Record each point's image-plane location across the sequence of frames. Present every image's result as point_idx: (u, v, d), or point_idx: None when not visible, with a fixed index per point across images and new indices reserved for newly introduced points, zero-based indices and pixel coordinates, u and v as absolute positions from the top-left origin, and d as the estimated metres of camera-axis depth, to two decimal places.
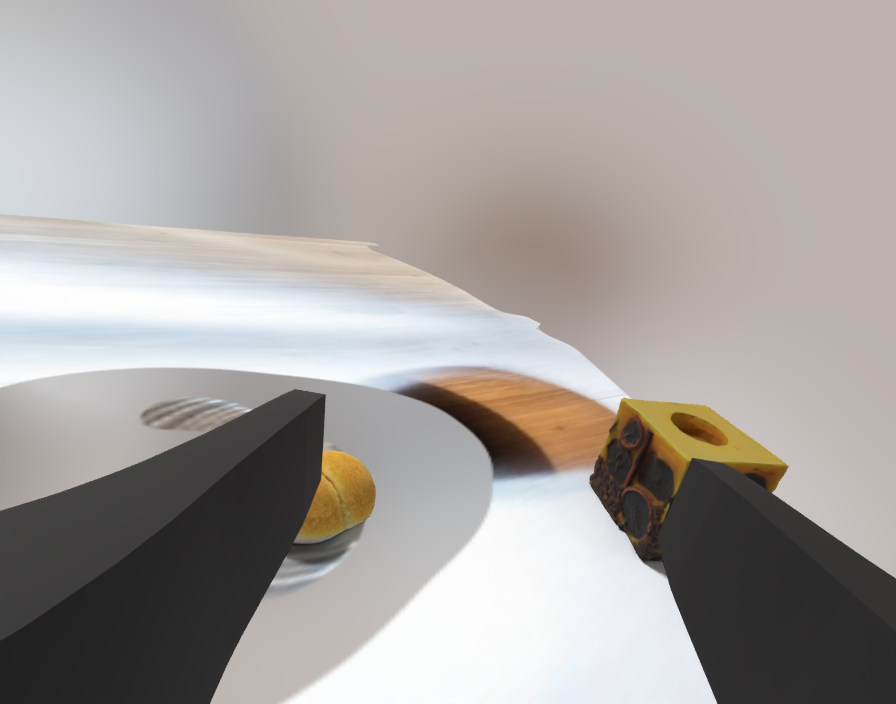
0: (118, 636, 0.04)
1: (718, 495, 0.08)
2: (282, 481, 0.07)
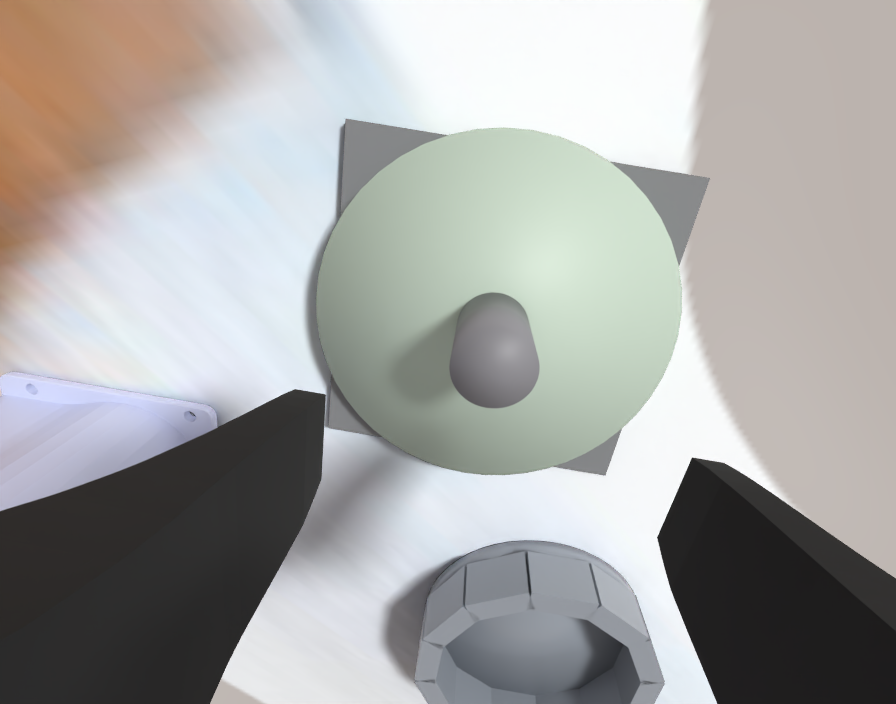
0: (118, 637, 0.04)
1: (718, 495, 0.08)
2: (282, 481, 0.07)
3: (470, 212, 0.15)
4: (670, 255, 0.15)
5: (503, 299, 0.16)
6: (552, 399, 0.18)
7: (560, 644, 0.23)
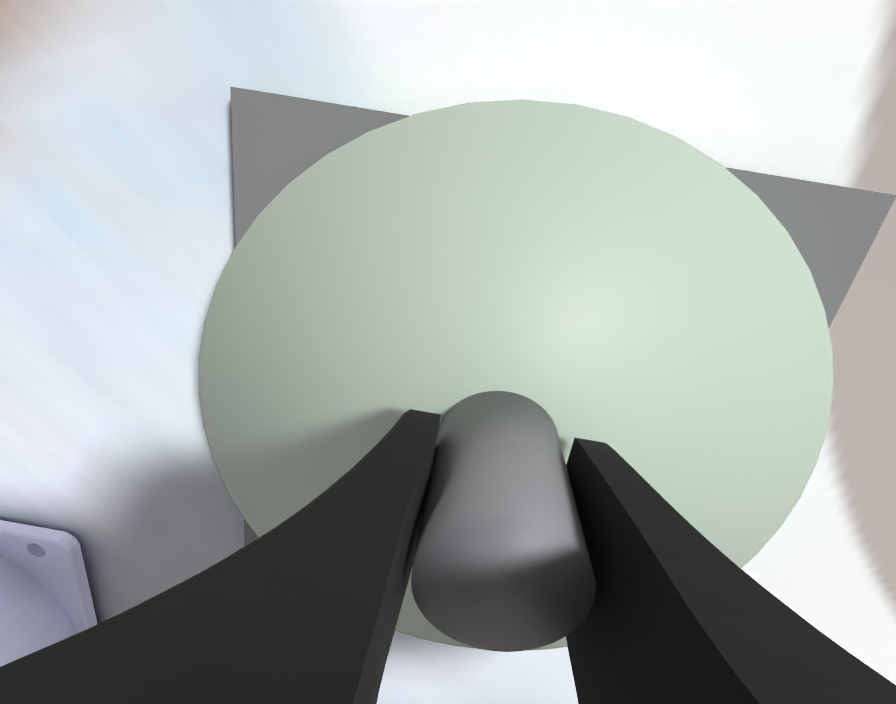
0: (369, 682, 0.04)
1: (586, 472, 0.08)
2: (420, 505, 0.07)
3: (457, 257, 0.08)
4: (819, 335, 0.08)
5: (517, 410, 0.09)
6: None
7: None
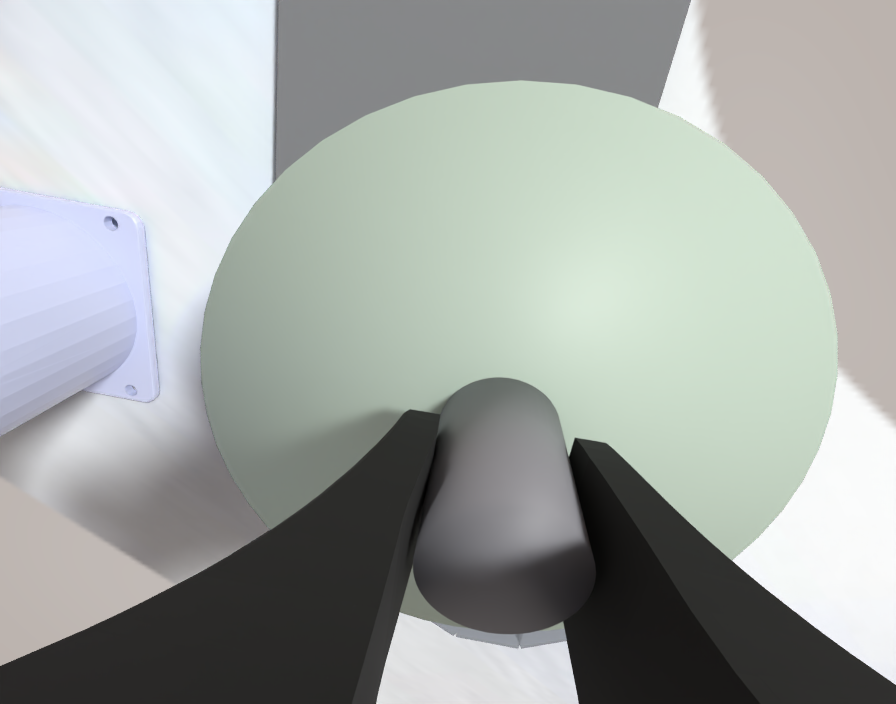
0: (368, 680, 0.04)
1: (586, 472, 0.08)
2: (419, 505, 0.07)
3: (457, 243, 0.08)
4: (824, 318, 0.08)
5: (518, 397, 0.09)
6: None
7: None
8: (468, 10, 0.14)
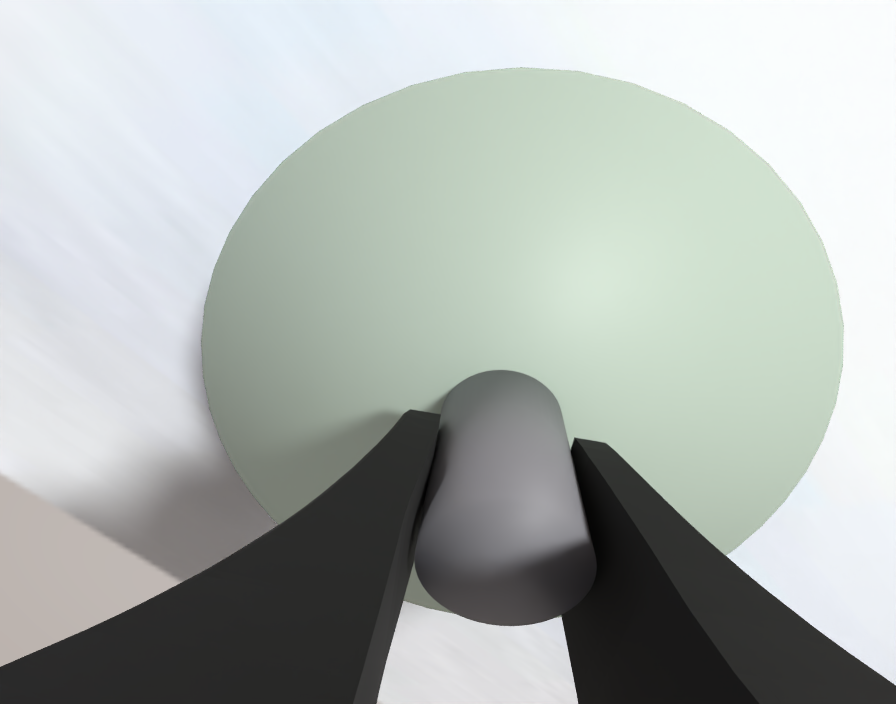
0: (369, 680, 0.04)
1: (585, 472, 0.08)
2: (420, 505, 0.07)
3: (456, 235, 0.08)
4: (830, 309, 0.08)
5: (519, 390, 0.09)
6: None
7: None
8: None
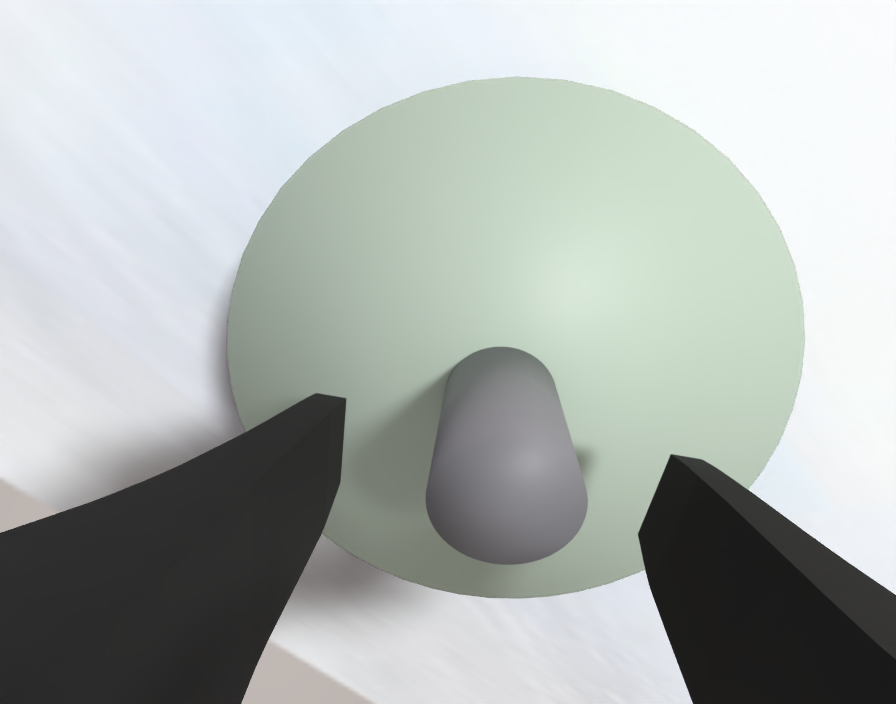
0: (163, 644, 0.04)
1: (694, 491, 0.08)
2: (307, 485, 0.07)
3: (461, 222, 0.09)
4: (790, 287, 0.09)
5: (516, 361, 0.10)
6: (591, 499, 0.12)
7: None
8: None
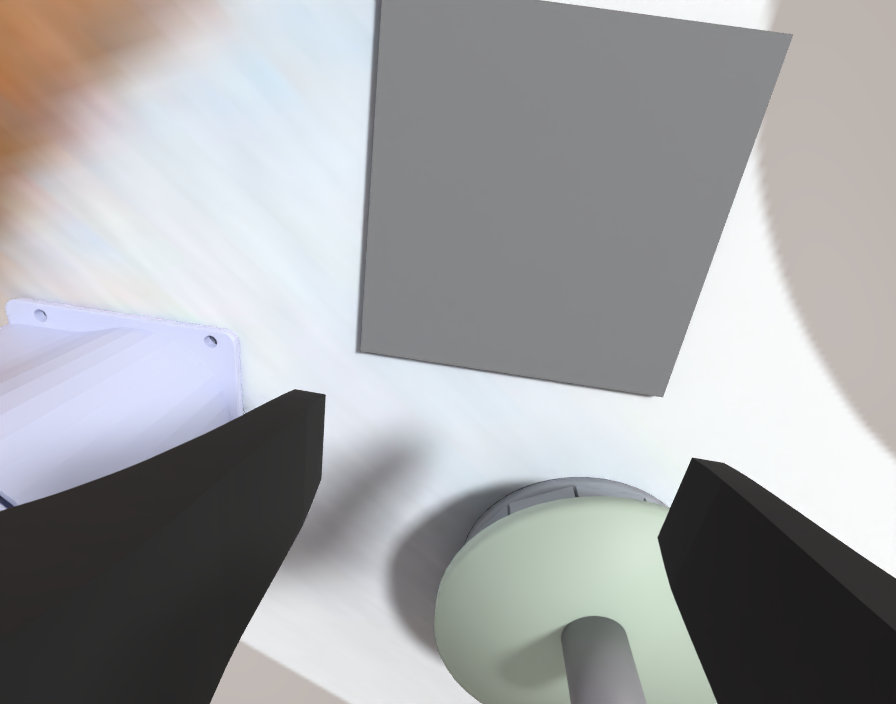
0: (118, 636, 0.04)
1: (718, 495, 0.08)
2: (282, 481, 0.07)
3: (578, 564, 0.17)
4: None
5: (608, 634, 0.18)
6: (645, 687, 0.20)
7: None
8: (546, 159, 0.15)
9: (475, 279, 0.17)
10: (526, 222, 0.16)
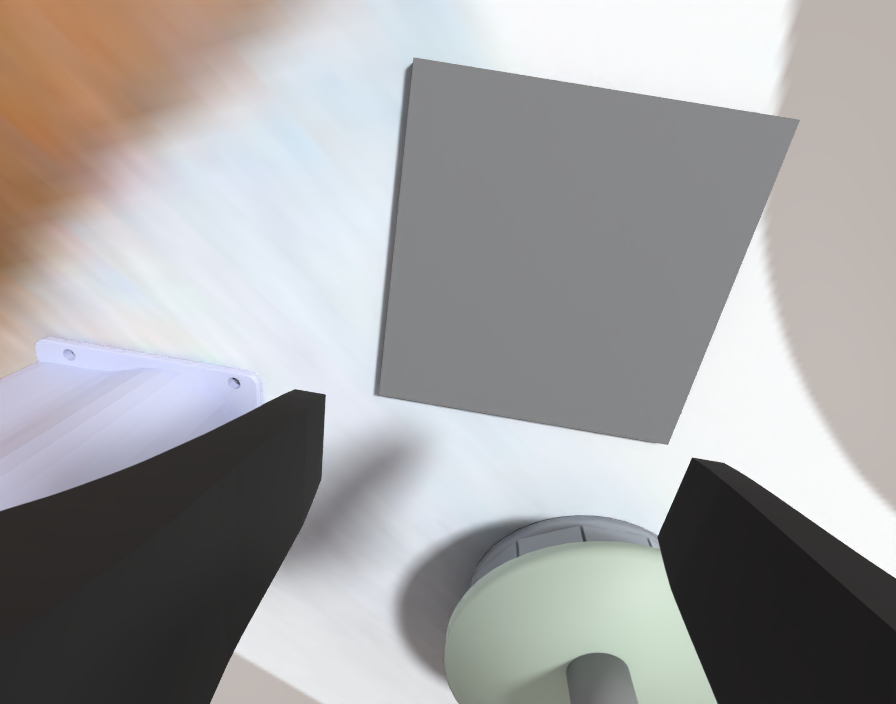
0: (118, 637, 0.04)
1: (718, 495, 0.08)
2: (282, 481, 0.07)
3: (585, 604, 0.18)
4: None
5: (612, 671, 0.18)
6: None
7: None
8: (563, 225, 0.16)
9: (492, 332, 0.18)
10: (542, 281, 0.17)
